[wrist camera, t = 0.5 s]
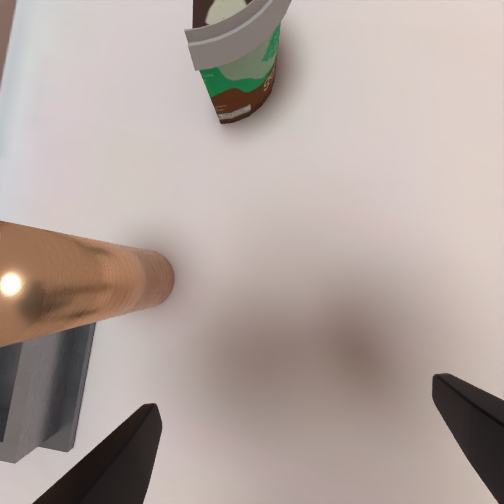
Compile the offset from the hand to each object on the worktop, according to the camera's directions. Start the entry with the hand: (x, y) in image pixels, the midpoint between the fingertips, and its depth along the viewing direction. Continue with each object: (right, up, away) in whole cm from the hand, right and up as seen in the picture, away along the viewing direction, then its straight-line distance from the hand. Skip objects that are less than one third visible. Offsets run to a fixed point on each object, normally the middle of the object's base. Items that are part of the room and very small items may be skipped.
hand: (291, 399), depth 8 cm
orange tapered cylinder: (-11, +2, +14) cm, 18 cm away
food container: (-1, +21, +16) cm, 26 cm away
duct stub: (-22, -5, +15) cm, 27 cm away
